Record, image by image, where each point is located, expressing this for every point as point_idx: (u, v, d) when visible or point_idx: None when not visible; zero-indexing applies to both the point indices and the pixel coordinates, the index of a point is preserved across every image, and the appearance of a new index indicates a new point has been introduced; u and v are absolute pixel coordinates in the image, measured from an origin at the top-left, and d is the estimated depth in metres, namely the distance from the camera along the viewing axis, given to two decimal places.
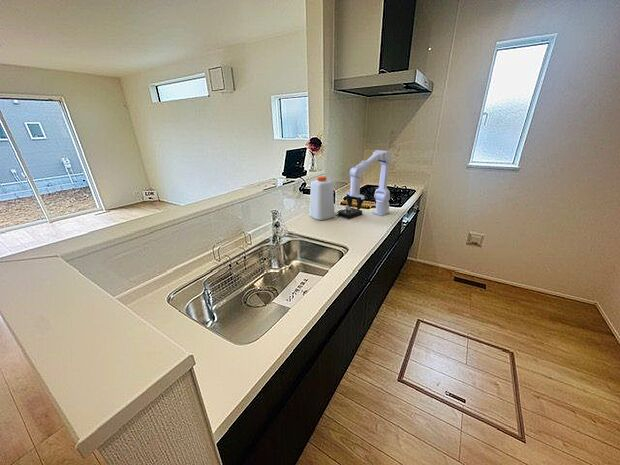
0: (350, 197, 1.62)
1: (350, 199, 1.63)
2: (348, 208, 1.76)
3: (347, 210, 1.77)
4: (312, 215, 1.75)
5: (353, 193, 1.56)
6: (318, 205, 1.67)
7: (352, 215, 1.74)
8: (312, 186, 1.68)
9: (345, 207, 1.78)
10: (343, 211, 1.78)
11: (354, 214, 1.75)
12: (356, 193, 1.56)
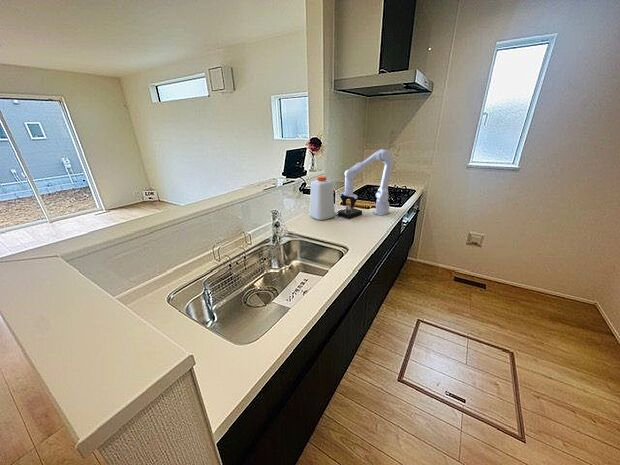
0: (344, 196, 1.78)
1: (344, 198, 1.78)
2: (348, 208, 1.76)
3: (347, 210, 1.77)
4: (312, 215, 1.75)
5: (347, 193, 1.71)
6: (318, 205, 1.67)
7: (352, 215, 1.74)
8: (312, 186, 1.68)
9: (345, 207, 1.78)
10: (343, 211, 1.78)
11: (354, 214, 1.75)
12: (350, 193, 1.71)
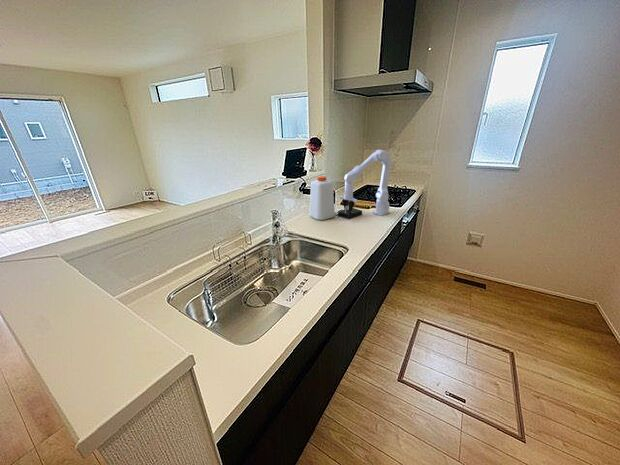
0: (346, 201, 1.78)
1: (346, 203, 1.78)
2: (348, 208, 1.76)
3: (347, 210, 1.77)
4: (312, 215, 1.75)
5: (347, 197, 1.72)
6: (318, 205, 1.67)
7: (352, 215, 1.74)
8: (312, 186, 1.68)
9: (345, 207, 1.78)
10: (343, 211, 1.78)
11: (354, 214, 1.75)
12: (349, 197, 1.72)
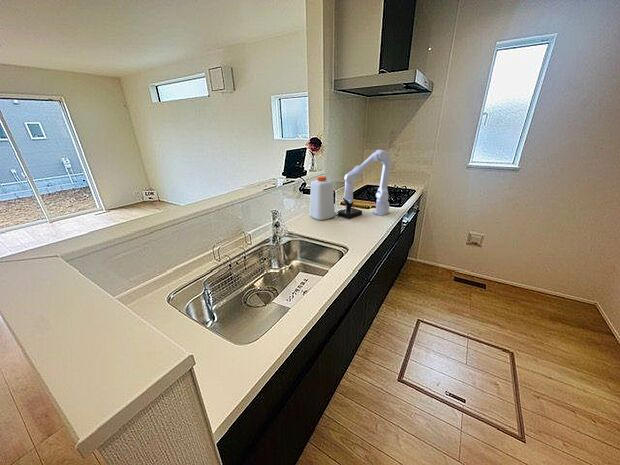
0: (347, 200, 1.78)
1: None
2: (346, 208, 1.76)
3: (346, 210, 1.77)
4: (312, 215, 1.75)
5: (345, 196, 1.73)
6: (318, 205, 1.67)
7: (352, 215, 1.74)
8: (312, 186, 1.68)
9: None
10: (343, 211, 1.78)
11: (354, 214, 1.75)
12: (347, 197, 1.72)
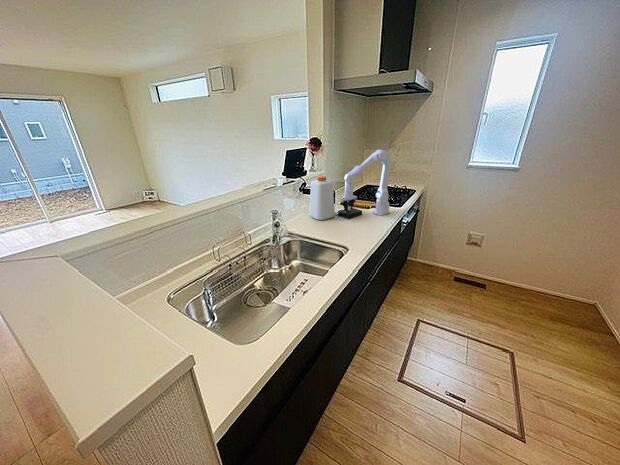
0: (350, 201, 1.77)
1: (350, 203, 1.78)
2: None
3: None
4: (312, 215, 1.75)
5: None
6: (318, 205, 1.67)
7: (352, 215, 1.74)
8: (312, 186, 1.68)
9: None
10: (343, 211, 1.78)
11: (354, 214, 1.75)
12: None
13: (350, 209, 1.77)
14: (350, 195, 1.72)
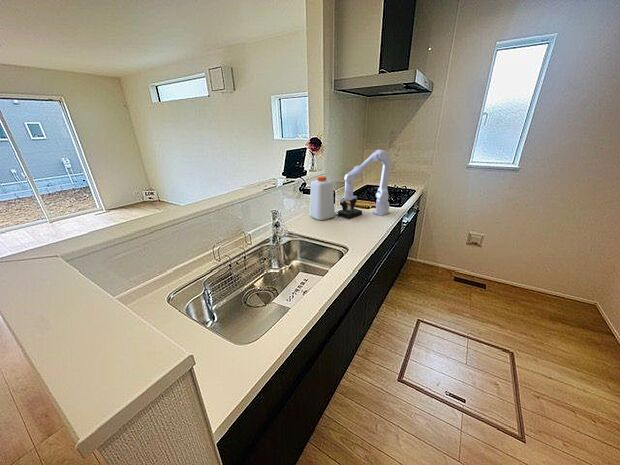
0: (352, 200, 1.78)
1: (352, 202, 1.79)
2: None
3: None
4: (312, 215, 1.75)
5: None
6: (318, 205, 1.67)
7: (352, 215, 1.74)
8: (312, 186, 1.68)
9: None
10: (343, 211, 1.78)
11: (354, 214, 1.75)
12: None
13: (350, 209, 1.77)
14: (350, 195, 1.72)
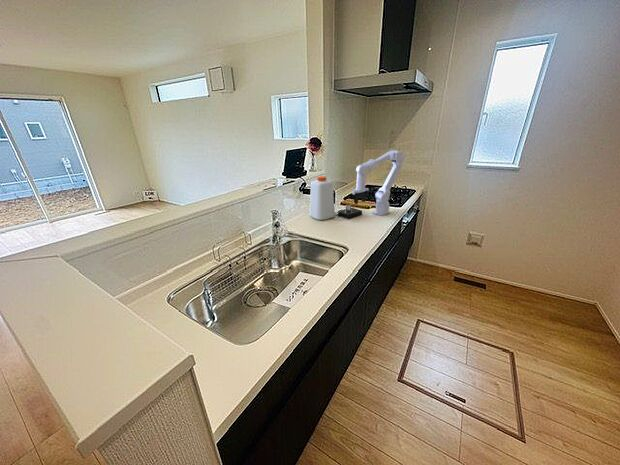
0: (363, 193, 1.74)
1: (363, 195, 1.75)
2: (345, 207, 1.78)
3: None
4: (312, 215, 1.75)
5: None
6: (318, 205, 1.67)
7: (352, 215, 1.74)
8: (312, 186, 1.68)
9: None
10: (343, 211, 1.78)
11: (354, 214, 1.75)
12: (356, 188, 1.70)
13: (350, 209, 1.77)
14: (362, 187, 1.68)
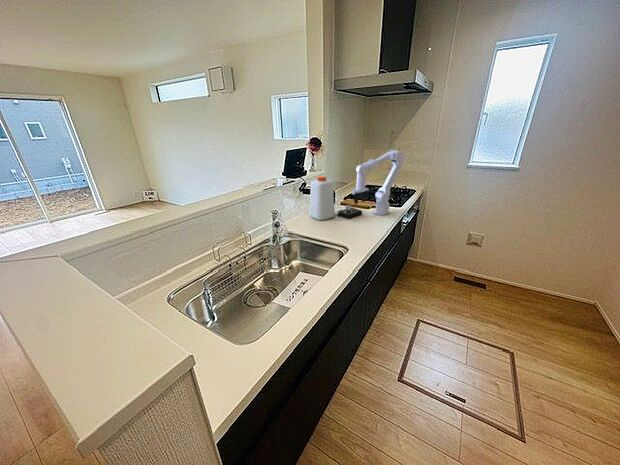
0: (363, 193, 1.74)
1: (363, 195, 1.75)
2: (345, 207, 1.78)
3: None
4: (312, 215, 1.75)
5: None
6: (318, 205, 1.67)
7: (352, 215, 1.74)
8: (312, 186, 1.68)
9: None
10: (343, 211, 1.78)
11: (354, 214, 1.75)
12: (356, 188, 1.70)
13: (350, 209, 1.77)
14: (362, 187, 1.68)
